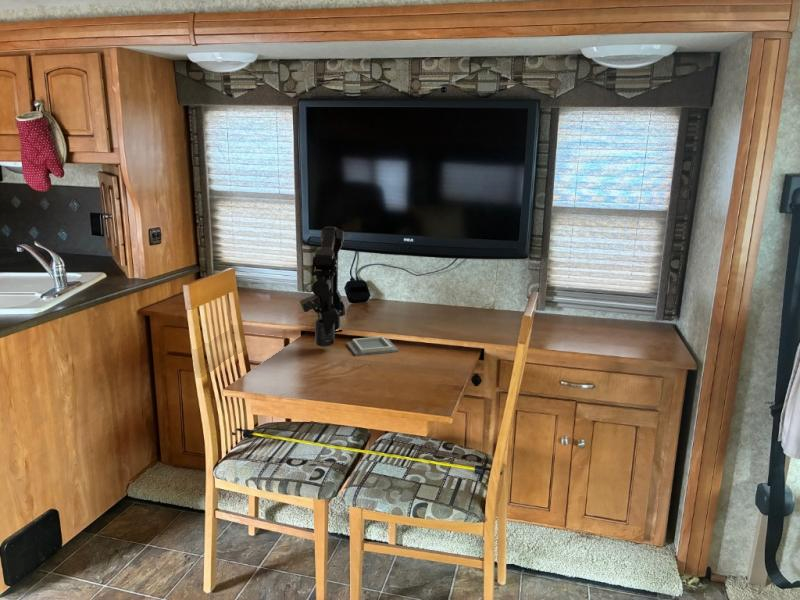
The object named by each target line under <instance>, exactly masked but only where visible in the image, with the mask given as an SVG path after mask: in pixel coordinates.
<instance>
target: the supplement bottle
mask: <svg viewBox="0 0 800 600" xmlns="http://www.w3.org/2000/svg"><path fill="white" fill-rule="evenodd" d="M320 311H321V310H320ZM320 311H318V314H317V318H316V319H315V320H314V333H315V334H314V337H315V342H314V343H315V344H316V346H318V347H321V348H322V347H324V348H326V347H331V346H333V345H334V344H335V340H336V338H335V337H336V336H335V334H336V333H335V328H334V325H333V327H332V329H331V331H330V333H329V335H326V334H325V329H324V324H323V321H322V320H320V318H319V317H320V315H319V312H320Z"/></svg>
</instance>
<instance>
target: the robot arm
mask: <svg viewBox="0 0 800 600" xmlns="http://www.w3.org/2000/svg"><path fill="white" fill-rule="evenodd" d="M320 241H321V245H320V248H319V249H317V250H316V252H315V254H314V256H312V265H311V276H315V281H314V282H313V283H312V286H311V291H312V293H313V294H314V295H311V296H309V297H306V298H303V299H301V300H300V301H299V304H300V306H301V309H302V311H303V312H304V313H307V312H309V311H311V310H313V311H314V312H315V313H316V314H317V315H318V311H320V310H321V311H320V312H319V315H320V317H319V318H320V320H322V321H323V324H324V329H325V334H326V335H329V333H330V331H331V329H332V327H333V325H334V328H335V330H336V329H338V328H339V327H341V317H344V316H345V315H346V307H345V304H344V300H342V299H343V297H342V295H341V292H340V291H339V286H338V285H339V252H340V251H341V248H343V243H344V242H345V232H344V230H343V229H339V228H338V227H336V226H324V227H323V229H321V230H320Z"/></svg>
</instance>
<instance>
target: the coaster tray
mask: <svg viewBox="0 0 800 600" xmlns="http://www.w3.org/2000/svg"><path fill="white" fill-rule="evenodd" d="M346 346H347V347H348V348H349V350H350V351H351V353H352V354H353V355H354V356H355V357H357V356H367V355H377V354H388V353H398V352H399V348H397V346H396V345H395V344H394V343H393V342H392V341H391V340H390V339H389V338H384V336H372V337H362V338H361V337H359V338H352V341H347V342H346Z"/></svg>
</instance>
